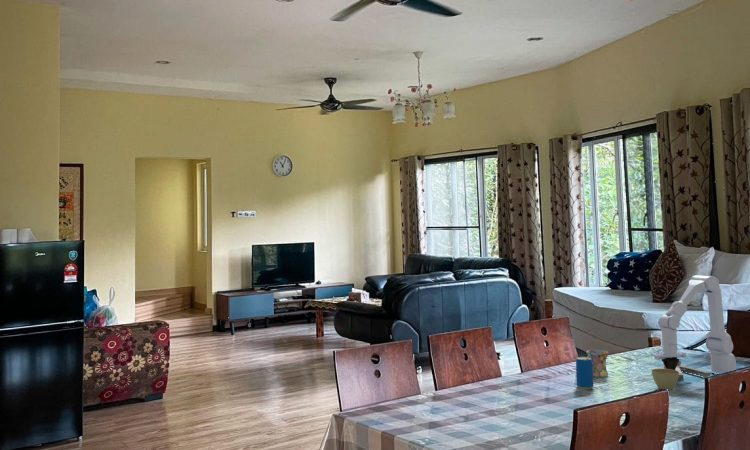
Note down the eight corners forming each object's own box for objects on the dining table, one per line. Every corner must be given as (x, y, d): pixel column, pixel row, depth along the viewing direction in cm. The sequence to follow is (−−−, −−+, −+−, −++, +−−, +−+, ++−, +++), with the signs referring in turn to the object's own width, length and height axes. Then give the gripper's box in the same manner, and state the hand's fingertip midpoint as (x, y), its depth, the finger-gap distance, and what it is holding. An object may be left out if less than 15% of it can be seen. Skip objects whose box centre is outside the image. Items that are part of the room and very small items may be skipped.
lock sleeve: (677, 368, 279) (676, 360, 279) (680, 369, 276) (680, 361, 276) (663, 369, 277) (663, 361, 277) (667, 370, 274) (667, 362, 275)
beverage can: (594, 389, 245) (593, 359, 245) (577, 389, 246) (576, 359, 247) (592, 385, 252) (591, 356, 252) (575, 385, 253) (574, 356, 253)
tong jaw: (672, 371, 272) (672, 366, 272) (679, 371, 271) (678, 367, 271) (676, 379, 257) (676, 374, 257) (683, 379, 256) (683, 374, 256)
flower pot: (676, 393, 236) (676, 374, 236) (649, 390, 242) (648, 372, 243) (682, 387, 244) (681, 369, 244) (655, 384, 250) (654, 367, 250)
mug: (596, 372, 275) (595, 349, 276) (613, 376, 267) (613, 352, 268) (578, 376, 269) (577, 352, 270) (595, 380, 261) (594, 355, 262)
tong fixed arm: (674, 368, 279) (674, 363, 279) (710, 378, 258) (710, 372, 258) (666, 369, 277) (666, 364, 278) (701, 379, 257) (701, 373, 257)
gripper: (677, 340, 265) (678, 372, 265) (648, 343, 262) (650, 374, 261) (689, 343, 258) (690, 375, 258) (660, 345, 255) (661, 378, 255)
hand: (670, 375), depth 259 cm, fingers closed
